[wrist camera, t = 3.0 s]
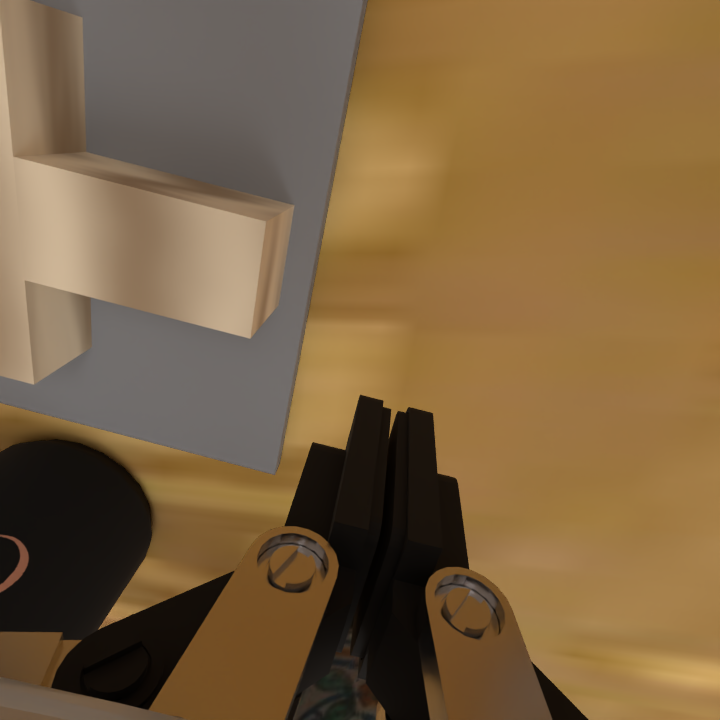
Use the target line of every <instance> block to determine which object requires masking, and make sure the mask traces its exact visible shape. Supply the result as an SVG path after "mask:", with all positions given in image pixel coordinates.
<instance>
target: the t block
mask: <svg viewBox="0 0 720 720" xmlns="http://www.w3.org/2000/svg"><path fill="white" fill-rule="evenodd" d="M293 212H294V205H291V204H287V203H283V202H279V201H275V200H272V199H268V198H264V197H260V196H256V195H252V194H248V193H244V192H240V191H236V190H233V189H229V188H225V187H221V186H217V185H213V184H209V183H205V182H201V181H197V180H194V179H190V178H186V177H182V176H178V175H174V174H170V173H166V172H162V171H158V170H154V169H151V168H147V167H143V166H139V165H135V164H131V163H127V162H123V161H119V160H115V159H112V158H108V157H104V156H100V155H96V154H92V153H88V152H86V124H85V89H84V53H83V18H82V17H79V16H76V15H73V14H70V13H67V12H64V11H61V10H58V9H55V8H52V7H49V6H46V5H43V4H40V3H37V2H34V1H31V0H0V376H3V377H7V378H11V379H14V380H18V381H22V382H26V383H30V384H36V383H37V382H39V381H40V380H42V379H44V378H45V377H47V376H48V375H50V374H51V373H53V372H54V371H56V370H57V369H59V368H60V367H62V366H64V365H65V364H67V363H68V362H70V361H71V360H73V359H74V358H76V357H77V356H79V355H81V354H82V353H84V352H85V351H87V350H88V349H90V348H91V347H92V334H91V299H90V297H92V298H95V299H99V300H103V301H107V302H111V303H115V304H118V305H122V306H126V307H130V308H134V309H138V310H142V311H145V312H149V313H153V314H157V315H161V316H165V317H169V318H172V319H176V320H180V321H184V322H188V323H192V324H196V325H199V326H203V327H207V328H211V329H215V330H219V331H223V332H226V333H230V334H234V335H238V336H242V337H246V338H249V339H250V338H251V337H252V336H253V335H254V334H255V333H256V331H257V330H258V329H259V328H260V327H261V325H262V324H263V323H264V322H265V321H266V319H267V318H268V317H269V316H270V315H271V313H272V312H273V311H274V310H275V309H276V308H277V306H278V305H279V300H280V293H281V287H282V281H283V275H284V268H285V262H286V256H287V249H288V243H289V237H290V231H291V224H292V218H293Z"/></svg>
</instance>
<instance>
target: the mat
mask: <svg viewBox="0 0 720 720" xmlns="http://www.w3.org/2000/svg"><path fill="white" fill-rule="evenodd" d="M31 1H34V2H37V3H40V4H43V5H46V6H49V7H52V8H55V9H58V10H61V11H64V12H67V13H70V14H73V15H76V16H79V17H82V18H83V53H84V89H85V124H86V152H88V153H92V154H96V155H100V156H104V157H108V158H112V159H115V160H119V161H123V162H127V163H131V164H135V165H139V166H143V167H147V168H151V169H154V170H158V171H162V172H166V173H170V174H174V175H178V176H182V177H186V178H190V179H194V180H197V181H201V182H205V183H209V184H213V185H217V186H221V187H225V188H229V189H233V190H236V191H240V192H244V193H248V194H252V195H256V196H260V197H264V198H268V199H272V200H275V201H279V202H283V203H287V204H291V205H294V212H293V218H292V224H291V231H290V237H289V243H288V249H287V256H286V262H285V268H284V275H283V281H282V287H281V293H280V300H279V305H278V306H277V308H276V309H275V310H274V311H273V312H272V313H271V315H270V316H269V317H268V318H267V319H266V321H265V322H264V323H263V324H262V325H261V327H260V328H259V329H258V330H257V331H256V333H255V334H254V335H253V336H252V337H251V338H250V339H249V338H246V337H242V336H238V335H234V334H230V333H226V332H223V331H219V330H215V329H211V328H207V327H203V326H199V325H196V324H192V323H188V322H184V321H180V320H176V319H172V318H169V317H165V316H161V315H157V314H153V313H149V312H145V311H142V310H138V309H134V308H130V307H126V306H122V305H118V304H115V303H111V302H107V301H103V300H99V299H95V298H92V297H90V299H91V334H92V347H91V348H90V349H88V350H87V351H85V352H84V353H82V354H81V355H79V356H77V357H76V358H74V359H73V360H71V361H70V362H68V363H67V364H65V365H64V366H62V367H60V368H59V369H57V370H56V371H54V372H53V373H51V374H50V375H48V376H47V377H45V378H44V379H42V380H40V381H39V382H37V383H36V384H30V383H26V382H22V381H18V380H14V379H11V378H7V377H3V376H0V403H3V404H7V405H11V406H14V407H18V408H22V409H26V410H30V411H33V412H37V413H41V414H45V415H49V416H52V417H56V418H60V419H64V420H68V421H71V422H75V423H79V424H83V425H87V426H91V427H94V428H98V429H102V430H106V431H110V432H113V433H117V434H121V435H125V436H129V437H132V438H136V439H140V440H144V441H148V442H151V443H155V444H159V445H163V446H167V447H170V448H174V449H178V450H182V451H186V452H190V453H193V454H197V455H201V456H205V457H209V458H212V459H216V460H220V461H224V462H228V463H231V464H235V465H239V466H243V467H247V468H250V469H254V470H258V471H262V472H266V473H270V474H273V475H275V473H276V471H277V469H278V466H279V464H280V459H281V454H282V449H283V443H284V438H285V433H286V428H287V422H288V417H289V412H290V406H291V401H292V396H293V391H294V385H295V380H296V375H297V370H298V364H299V359H300V354H301V348H302V343H303V338H304V333H305V327H306V322H307V317H308V312H309V306H310V301H311V296H312V290H313V285H314V280H315V275H316V269H317V264H318V259H319V254H320V248H321V243H322V238H323V233H324V227H325V222H326V217H327V211H328V206H329V201H330V196H331V190H332V185H333V180H334V175H335V169H336V164H337V159H338V153H339V148H340V143H341V138H342V132H343V127H344V122H345V117H346V111H347V106H348V101H349V95H350V90H351V85H352V80H353V74H354V69H355V64H356V59H357V53H358V48H359V43H360V37H361V32H362V27H363V22H364V16H365V11H366V6H367V1H368V0H31Z"/></svg>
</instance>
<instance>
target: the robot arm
mask: <svg viewBox="0 0 720 720" xmlns="http://www.w3.org/2000/svg"><path fill="white" fill-rule="evenodd" d="M390 418H391V409H388V408H384V407H383V401H382V400H378V399H375V398H371V397H367V396H363V395H360V397H359V400H358V404H357V408H356V411H355V415H354V419H353V423H352V427H351V430H350V434H349V438H348V442H347V446H346V450H342V449H338V448H334V447H330V446H326V445H322V444H318V443H314V442H313V443H312V446H311V448H310V451H309V454H308V457H307V460H306V463H305V466H304V469H303V472H302V475H301V478H300V481H299V484H298V487H297V490H296V493H295V496H294V499H293V502H292V505H291V508H290V511H289V514H288V517H287V520H286V523H285V526H282V527H278V528H274V529H270V530H269V531H267V532H265V533H263V534H262V535H260V536H259V537H258V538H257V539H256V540H255V541H254V542H253V543H252V545H251V546H250V548H249V549H248V551H247V552H246V554H245V556H244V557H243V559H242V561H241V562H240V564H239V565H238V567H237V569H236V570H235V571H233V572H230V573H228V574H226V575H223V576H221V577H219V578H216V579H214V580H212V581H210V582H207V583H205V584H203V585H200V586H198V587H196V588H193V589H191V590H189V591H186V592H184V593H182V594H179V595H177V596H175V597H173V598H170V599H168V600H166V601H163V602H161V603H159V604H156V605H154V606H152V607H149V608H147V609H145V610H142V611H140V612H138V613H136V614H133V615H131V616H129V617H126V618H124V619H122V620H119V621H117V622H115V623H112V624H110V625H108V626H105V627H103V628H101V629H99V630H97V631H96V632H94V633H92V634H90V635H89V636H87V637H85V638H84V639H82V640H63V632H0V720H294V718H295V715H296V712H297V709H298V706H299V704H300V701H301V698H302V694H303V691H304V690H305V689H307V688H308V687H310V686H311V685H313V684H314V683H316V682H317V681H319V680H320V679H322V678H323V677H325V676H326V675H328V674H329V672H330V669H331V666H332V663H333V660H334V656H335V653H336V652H339V653H341V652H342V650H343V647H344V644H345V641H346V638H347V635H348V632H349V629H350V626H351V623H352V620H353V617H354V621H353V629H352V637H351V645H350V655H351V656H355V657H359V667H358V677H357V678H360V679H364V680H366V682H365V683H366V684H367V686H368V687H369V689H370V690H371V691H372V693H373V694H374V696H375V697H376V699H377V700H378V704H377V710H376V720H588V719H587V718H586V717H585V716H584V715H583V714H582V713H581V712H580V711H579V710H578V709H577V708H576V707H575V706H574V704H573V703H572V702H571V701H570V700H569V699H568V698H567V697H566V696H565V695H564V694H563V693H562V692H561V691H560V690H559V689H558V688H557V687H556V686H555V685H554V684H553V683H552V682H551V681H550V680H549V679H548V678H547V677H546V676H545V675H544V674H543V673H542V672H541V671H540V670H539V669H538V668H537V667H536V666H535V665H534V664H533V663H532V662H531V660H530V657H529V654H528V651H527V649H526V646H525V643H524V640H523V638H522V635H521V632H520V629H519V627H518V624H517V621H516V618H515V616H514V613H513V610H512V608H511V606H510V604H509V602H508V600H507V598H506V597H505V596H504V594H503V593H502V592H501V591H500V590H499V588H498V587H497V586H496V585H495V584H493V583H492V582H491V581H489V580H488V579H487V578H486V577H484V576H482V575H480V574H478V573H476V572H474V571H472V570H469V564H468V557H467V549H466V541H465V534H464V526H463V519H462V511H461V503H460V496H459V488H458V483H457V480H456V479H455V478H453V477H449V476H446V475H442V474H438V473H437V462H436V448H435V435H434V421H433V413H430V412H426V411H422V410H418V409H414V408H410V407H408V409H407V411H406V413H404V412H400V411H398V412H397V414H396V417H395V421H394V424H393V427H392V430H391V434H390V437H389V430H390Z"/></svg>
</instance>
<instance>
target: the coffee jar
mask: <svg viewBox="0 0 720 720" xmlns="http://www.w3.org/2000/svg"><path fill="white" fill-rule="evenodd" d="M151 537H152V530H151V518H150V509H149V504H148V502H147V500H146V497H145V495H144V493H143V491H142V489H141V487H140V485H139V484H138V483H137V482H136V481H135V480H134V479H133V478H132V476H131V475H130V474H129V473H128V472H127V471H126V470H125V468H123V467H122V466H121V465H119V464H118V463H116V462H115V461H114V460H112V459H111V458H109V457H108V456H107V455H105V454H104V453H102V452H99V451H97V450H95V449H92V448H90V447H87V446H85V445H83V444H80V443H75V442H69V441H63V440H57V439H55V440H47V441H46V440H43V441H34V442H26V443H19V444H16V445H12V446H11V447H9V448H7V449H5V450H3V451H1V452H0V632H63V640H82V639H84V638H85V637H87V636H89V635H90V634H92V633H94V632H96V631H97V630H98V629H99V627H100V625H101V624H102V622H103V621H104V619H105V618H106V616H107V615H108V613H109V612H110V610H111V609H112V607H113V606H114V604H115V603H116V601H117V600H118V598H119V597H120V595H121V593H122V592H123V590H124V589H125V587H126V586H127V584H128V583H129V581H130V580H131V578H132V577H133V575H134V574H135V572H136V571H137V569H138V568H139V566H140V564H141V563H142V561H143V560H144V558H145V556H146V553H147V551H148V548H149V545H150V542H151Z"/></svg>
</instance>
